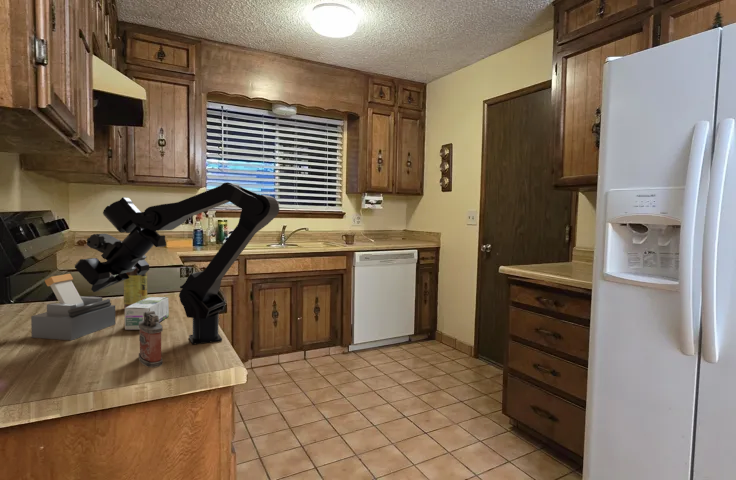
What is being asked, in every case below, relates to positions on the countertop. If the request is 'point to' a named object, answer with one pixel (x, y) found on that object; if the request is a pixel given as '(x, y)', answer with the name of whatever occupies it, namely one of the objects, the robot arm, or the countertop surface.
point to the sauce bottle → (135, 288)
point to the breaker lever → (64, 289)
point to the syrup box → (137, 310)
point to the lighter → (150, 340)
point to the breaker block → (73, 319)
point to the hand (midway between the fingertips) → (93, 290)
